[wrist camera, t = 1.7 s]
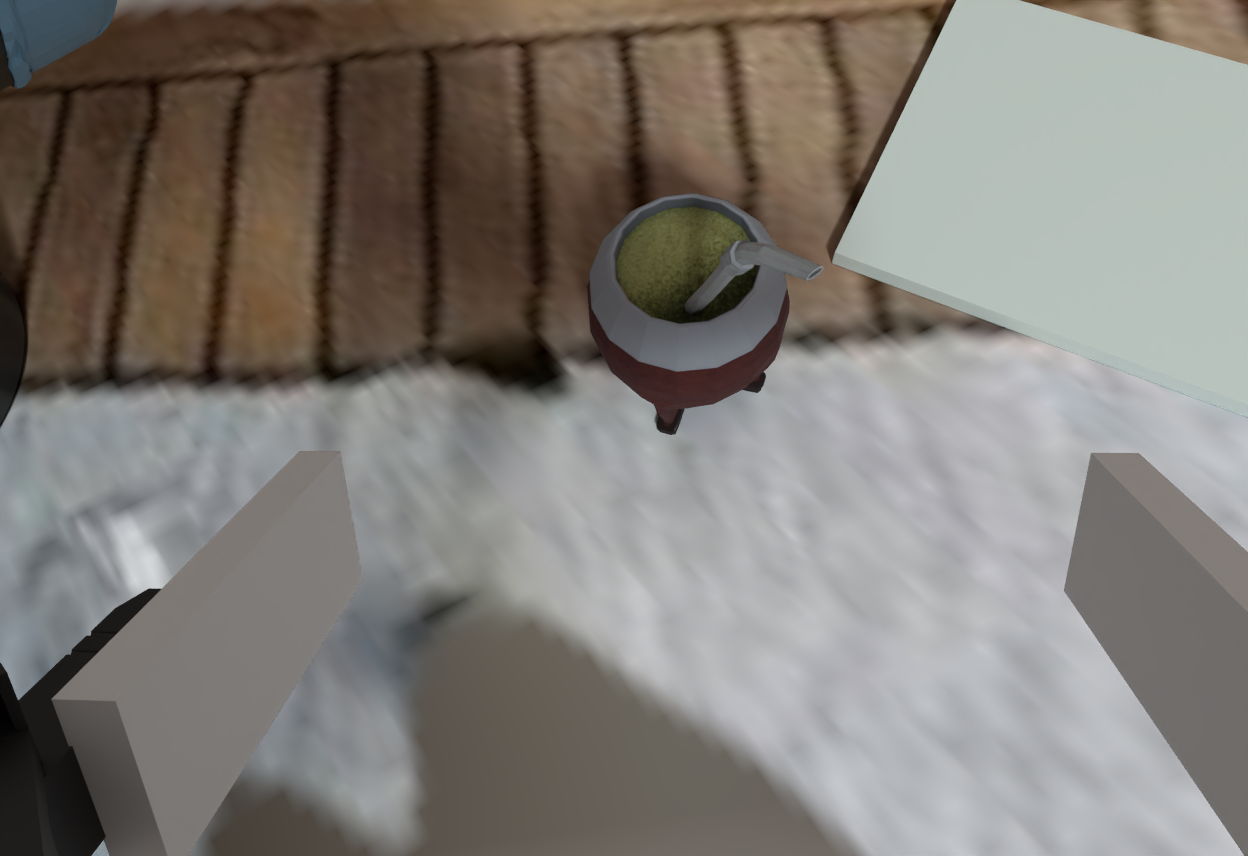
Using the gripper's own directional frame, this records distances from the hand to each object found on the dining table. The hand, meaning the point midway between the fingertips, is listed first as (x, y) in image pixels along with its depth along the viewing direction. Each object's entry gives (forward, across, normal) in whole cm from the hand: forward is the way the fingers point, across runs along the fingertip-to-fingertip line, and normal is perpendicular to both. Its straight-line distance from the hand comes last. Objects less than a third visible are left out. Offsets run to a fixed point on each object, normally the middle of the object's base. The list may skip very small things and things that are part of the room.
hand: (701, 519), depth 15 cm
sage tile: (+25, +19, +1) cm, 31 cm away
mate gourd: (+20, 0, -4) cm, 20 cm away
